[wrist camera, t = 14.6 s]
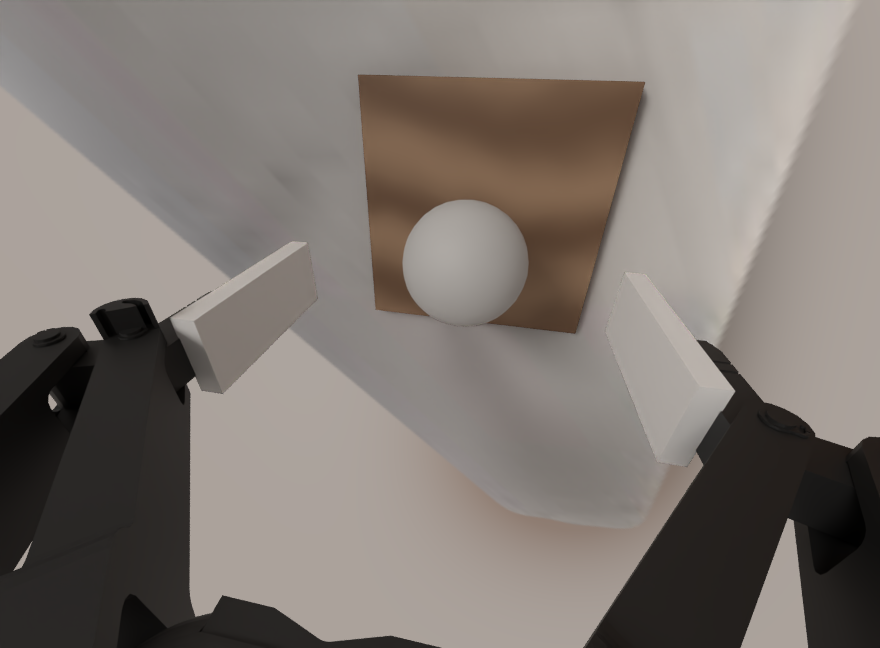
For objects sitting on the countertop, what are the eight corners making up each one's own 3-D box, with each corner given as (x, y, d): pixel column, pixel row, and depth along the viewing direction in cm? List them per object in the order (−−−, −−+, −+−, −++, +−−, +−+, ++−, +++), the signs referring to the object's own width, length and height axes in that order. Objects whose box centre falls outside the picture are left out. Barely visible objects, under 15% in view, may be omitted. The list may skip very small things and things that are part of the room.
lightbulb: (540, 189, 22) (556, 248, 13) (505, 274, 26) (499, 367, 17) (448, 159, 23) (401, 197, 13) (425, 247, 26) (375, 326, 17)
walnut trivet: (365, 76, 22) (358, 74, 21) (638, 83, 20) (645, 81, 19) (380, 302, 30) (375, 309, 29) (573, 325, 28) (575, 333, 27)
